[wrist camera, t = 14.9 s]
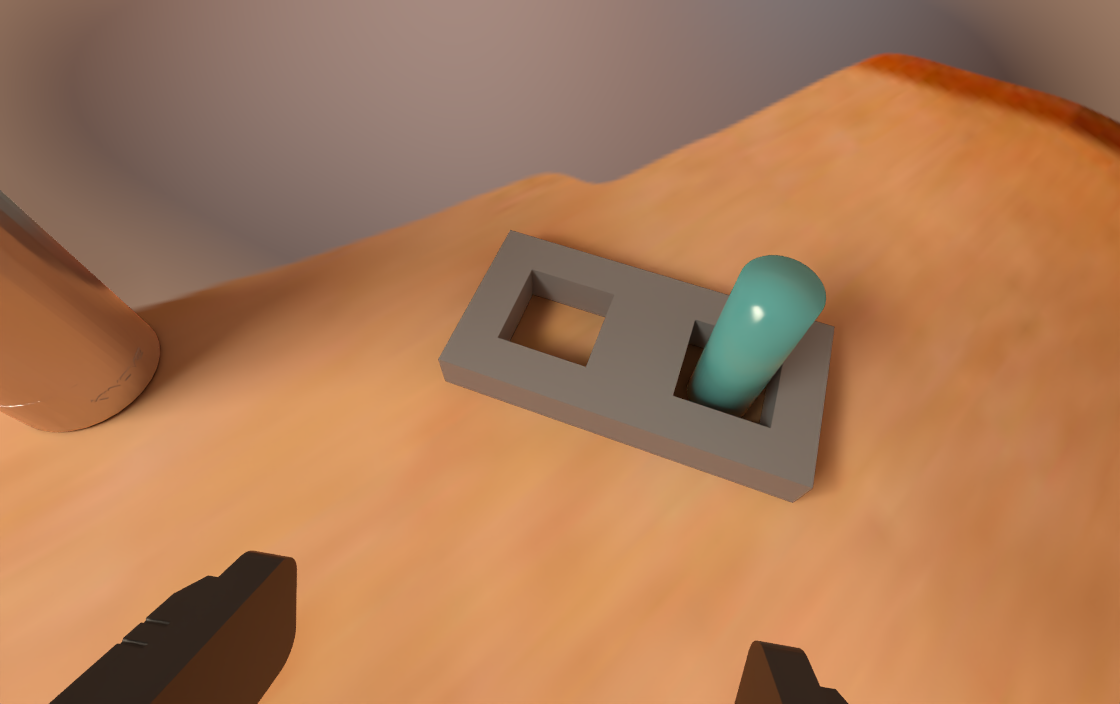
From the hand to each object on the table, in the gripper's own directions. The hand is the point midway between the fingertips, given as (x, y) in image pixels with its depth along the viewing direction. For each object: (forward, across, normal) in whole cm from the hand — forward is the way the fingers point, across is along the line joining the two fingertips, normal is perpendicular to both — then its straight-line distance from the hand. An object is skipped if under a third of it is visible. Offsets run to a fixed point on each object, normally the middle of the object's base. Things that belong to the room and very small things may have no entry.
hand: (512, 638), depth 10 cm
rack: (+30, -4, +3) cm, 31 cm away
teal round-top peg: (+30, -10, +4) cm, 31 cm away
